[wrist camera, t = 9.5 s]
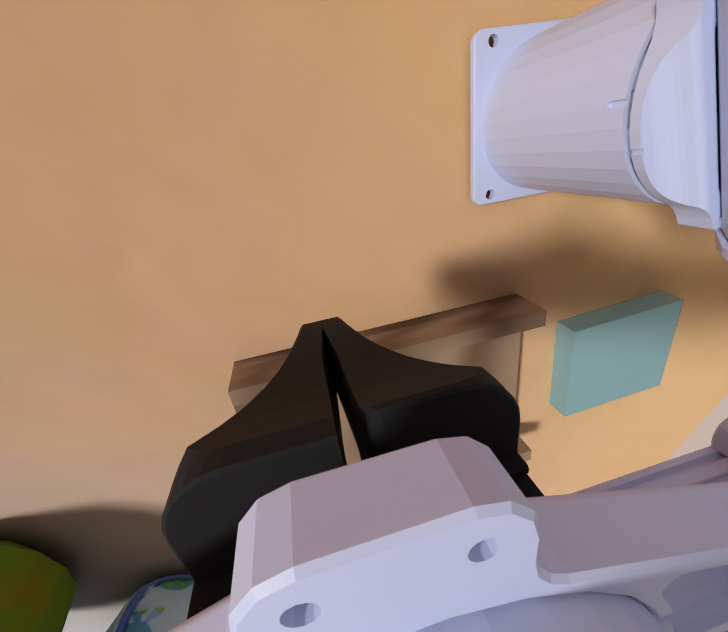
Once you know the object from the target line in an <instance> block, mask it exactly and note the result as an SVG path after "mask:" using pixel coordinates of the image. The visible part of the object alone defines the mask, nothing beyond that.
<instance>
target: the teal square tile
mask: <svg viewBox="0 0 728 632" xmlns="http://www.w3.org/2000/svg"><path fill="white" fill-rule="evenodd" d="M683 301H684V300H683V299H681V298H678V297H675V296H672V295H669V294H666V293H663V292H661V291H659V292H656V293H653V294H649V295H646V296H642V297H639V298H636V299H632V300H629V301H625V302H622V303H619V304H615V305H612V306H608V307H605V308H602V309H598V310H595V311H591V312H588V313H585V314H581V315H578V316H575V317H571V318H568V319H564V320H561V321H558V322H557V328H556V339H555V350H554V361H553V372H552V383H551V394H550V404H551V405H552V406H554V407H555V408H556V409H557V410H558V411H559V412H560V413H561V414H562V415H563V416H568V415H571V414H574V413H577V412H580V411H583V410H586V409H589V408H592V407H595V406H598V405H601V404H604V403H607V402H610V401H613V400H616V399H619V398H622V397H625V396H628V395H631V394H634V393H637V392H640V391H643V390H646V389H649V388H652V387H655V386H658V385H660V383H661V379H662V376H663V372H664V368H665V365H666V361H667V358H668V354H669V351H670V347H671V343H672V340H673V336H674V333H675V329H676V326H677V322H678V319H679V315H680V311H681V308H682V304H683Z"/></svg>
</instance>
